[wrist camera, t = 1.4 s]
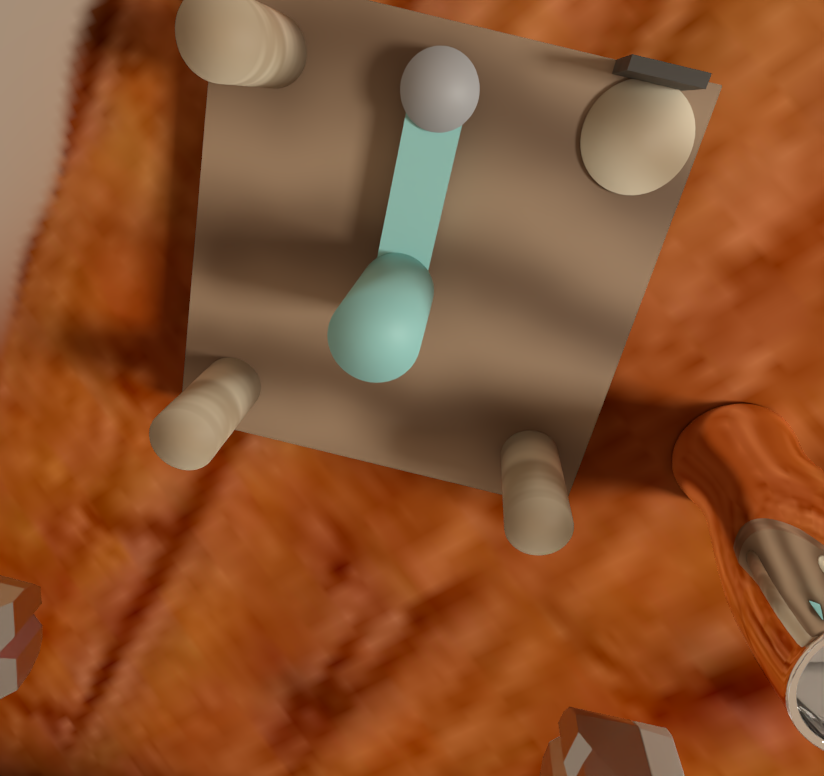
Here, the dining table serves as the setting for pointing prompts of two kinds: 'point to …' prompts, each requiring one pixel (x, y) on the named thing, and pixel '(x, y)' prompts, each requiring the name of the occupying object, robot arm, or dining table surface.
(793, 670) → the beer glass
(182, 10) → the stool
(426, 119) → the folding leg
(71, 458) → the dining table surface
